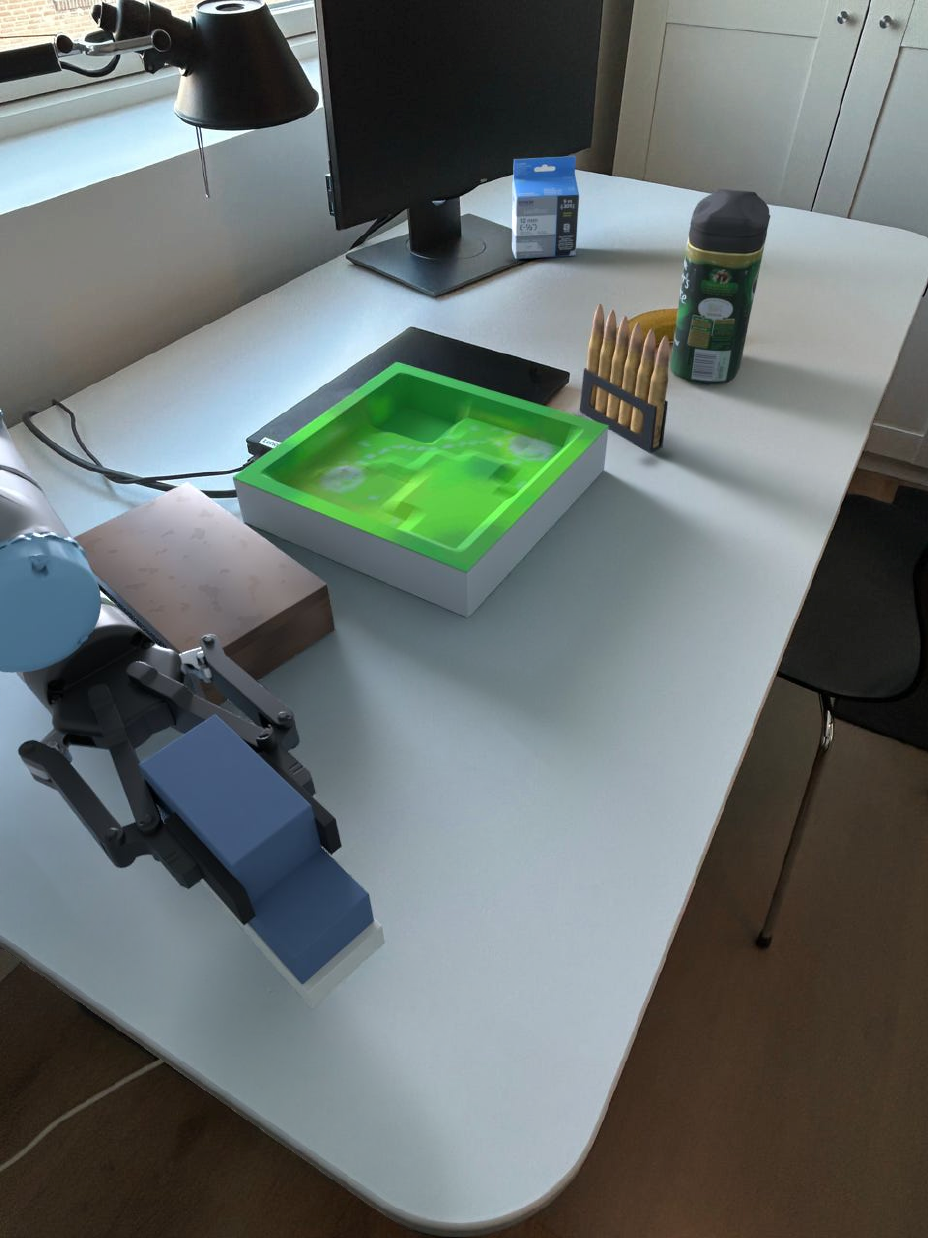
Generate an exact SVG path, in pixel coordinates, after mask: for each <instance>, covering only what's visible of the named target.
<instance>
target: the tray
mask: <svg viewBox="0 0 928 1238" xmlns="http://www.w3.org/2000/svg"><path fill="white" fill-rule="evenodd" d="M608 437H609V425H606V424H602V423H599V422H597V421H595V420H593V419H589V418H585V417H582V416H579V415H575V414H572V413H569V412H567V411H562V410H559V409H555V408H552V407H549V406H545V405H542V404H539V403H537V402H536V403H535V402H532V401H529V400H525V399H522V398H519V397H516V396H512V395H509V394H505V393H502V392H499V391H495V390H492V389H488V388H486V387H482V386H480V385H475V384H472V383H468V382H466V381H462V380H459V379H456V378H452V377H449V376H446V375H443V374H439V373H436V372H433V371H429V370H426V369H422V368H419V367H415V366H411V365H408V364H406V363H403V362H398V361H395V362H394V363H392V364H391V365H390V366H389V367H386V368H385V369H384V370H383V371H381V372H380V373H378V374H377V375H376V376H374V377H373V378H371V379H370V380H368V381H367V382H365V383H364V384H363V385H361V386H360V387H359V388H357V389H355V390H353V392H351V393H350V394H348V395H347V396H345V398H343V399H341V400H340V401H339V402H337V403H336V404H334V405H333V406H331V407H330V408H329V409H327V410H325V411H324V412H323V413H321V414H320V415H318V416H317V417H316V418H315V419H313V420H311V421H310V422H308V424H306V425H305V426H303V427H302V428H300V429H299V430H297V431H296V432H295V433H293V434H292V435H290V436H288V437H287V438H286V439H285V440H282V442H281V443H279V444H277V445H276V446H275V447H273V448H272V449H270V450H269V451H267V452H265V454H263V455H262V456H261V457H259V458H257V459H256V460H255V461H253V462H252V463H251V464H249V465H247V466H246V467H245V468H244V469H242V470H240V471H239V472H238V473H236V474H235V475H234V476H232V481H233V485H234V489H235V493H236V498H237V501H238V506H239V509H240V513H241V517H242V522H243V523H244V524H246V525H249V526H252V527H253V528H254V527H255V528H257V529H259V530H262V531H264V532H266V533H268V534H270V535H273V536H275V537H277V538H280V539H282V540H285V541H288V542H289V543H292V544H294V545H297V546H299V547H301V548H303V549H306V550H307V551H308V550H309V551H311V552H312V553H315V554H318V555H320V556H322V557H325V558H327V559H329V560H331V561H334V562H336V563H338V564H341V565H343V566H345V567H347V568H350V569H353V570H355V571H357V572H359V573H362V574H364V575H366V576H369V577H371V578H373V579H376V580H378V581H380V582H382V583H385V584H387V585H390V586H392V587H395V588H396V589H399V590H400V591H401V590H402V591H404V592H406V593H408V594H410V595H413V596H414V597H415V596H416V597H418V598H420V599H422V600H424V601H427V602H429V603H431V604H434V605H436V606H439V607H441V608H443V609H445V610H448V611H451V612H453V613H455V614H457V615H460V616H462V617H465V618H466V619H469V618H470V617H471V615H473V614H474V612H475V611H476V610H477V609H478V608H479V607H480V606H481V605H482V603H484V601H485V600H486V599H487V598H488V597H489V596H490V595H491V594H492V592H494V590H496V588H497V587H498V586H499V585H500V584H501V583H503V581H504V579H505V578H506V577H507V576H509V574H510V573H511V572H512V571H513V570H514V569H515V568H516V566H518V564H519V563H520V562H521V561H522V560H523V559H524V558H525V557H526V556H527V555H528V554H529V553H530V551H532V549H533V548H534V547H535V545H537V543H539V541H540V540H541V539H542V538H543V537H544V536H545V535H546V534H547V533H548V532H549V530H550V529H551V528H552V527H553V526H554V525H555V524H556V523H557V522H558V521H559V520H560V519H561V518H562V516H563V515H564V514H565V513H566V512H567V511H568V510H569V508H571V506H573V504H574V503H576V501H577V500H578V499H579V498H580V497H581V495H582V494H583V493H584V492H585V491H586V490H587V489H588V488H589V487H590V486H591V484H593V483H594V482H595V481H596V479H598V477H599V476H600V475H601V474H602V473H603V472H604V470H605V464H606V456H607V445H608Z"/></svg>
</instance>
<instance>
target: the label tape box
mask: <svg viewBox="0 0 928 1238" xmlns="http://www.w3.org/2000/svg"><path fill="white" fill-rule="evenodd" d="M576 162H577V156H575V155H571V156H569V155H568V156H552V157H551V156H550V157H533V158H514V159H513V178H512V185H511V186H512V188H511V189H512V191H511V192H512V193H511V194H512V195H511V197H512V201H511V202H512V203H511V204H512V205H511V206H512V207H511V212H512V213H511V215H512V216H511V217H512V219H511V221H512V222H511V249H512V251H511V252H512V254H513V256H514V258H515V260H523V259H537V258H555V257H570V256H571V257H572V256H576V253H577V238H578V223H579V222H578V221H579V209H580V207H579V205H580V194H579V188H578V187H579V186H578V181H577V177H576V164H577V163H576ZM544 165H546V166H547V167H548V168H549V167H554V170H545V171H543V170H541V171H536V170H535V169H536V168H542V167H543V166H544Z"/></svg>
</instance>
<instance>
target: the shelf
mask: <svg viewBox="0 0 928 1238" xmlns="http://www.w3.org/2000/svg"><path fill="white" fill-rule="evenodd" d="M73 539H74V540H75V541H77V542H78V544H79V545H80V546H81V547H82V548H83V549H84V551H85V553H86V555H87V558H88V564H89V566H90V568H91V570H92V573H93V575H94V577H95V579H96V581H97V583H98V586H99V589H100V591H101V592H103V590H105V591H106V592H107V593H108V594H109V595H110V596H111V597H112V598H113V599H114V600H115V601H116V602H117V603H119V604H120V605H121V606H122V607H123V608H124V609H125V610H126V611H127V612H128V613H129V614H130V615H132V616H133V618H135V620H137V622H139V623H140V624H141V625H142V626H143V627H144V628H146V630H148V631H149V632H150V633H151V634H152V635H153V636H154V637H155V638H156V639H157V640H158V641H160V642H161V644H162V645H164V646H165V648H167V649H171V650H174V651H175V652H177V653H178V654H182V653H185V652H188V651H191V650H194V649H197V648H200V647H201V646H200V639H201V638H202V637H203V636H205V635H208V634H214V635H217V637H218V638H219V641H220V643H221V646H222V648H223V651H224V653H225V655H226V656H228V657H229V658H230V659H231V660H232V661H233V662H235V663H236V664H237V665H238V666H239V667H241V668H242V669H243V670H244V671H245V672H246V673H248V674H249V675H250V676H251V677H252V678H253V679H255V680H256V681H257V682H258V681H259V680H261V679H262V678H263V677H265V676H267V675H268V674H269V673H271V672H273V671H275V670H276V669H277V668H279V667H280V666H283V664H286V663H287V662H288V661H290V660H291V659H293V658H295V657H296V656H297V655H299V654H300V653H302V652H303V651H305V650H307V649H308V648H310V647H312V646H313V645H315V644H317V642H319V641H321V640H322V639H324V638H325V637H326V636H328V635H330V634H331V633H332V632H334V631H336V625H335V619H334V614H333V608H332V603H331V596H330V592H329V585H328V583H327V582H325V581H324V580H323V579H322V578H320V577H319V576H317V575H316V574H314V573H313V572H312V571H310V570H309V569H308V568H307V567H305V566H303V565H302V564H301V563H299V562H298V561H297V560H295V559H294V558H293V557H291V556H290V555H288V554H287V553H286V552H284V551H283V550H282V549H280V548H279V547H277V546H276V545H275V544H274V543H272V542H271V541H270V540H268V539H266V538H265V537H264V536H263V535H261V534H260V533H258V532H257V531H256V530H254V529H253V528H251V527H250V525H249V526H248V524H247V523H245V522H243V520H241V519H239V518H238V517H236V516H235V515H234V514H232V513H231V512H230V511H228V510H227V509H225V508H224V507H223V506H221V505H220V504H219V503H217V502H216V501H214V499H211V498H210V497H209V496H208V495H206V494H205V493H204V492H202V491H201V490H200V489H198V488H197V487H195V486H194V485H192V484H191V483H190V482H188V481H186V482H184V483H182V484H180V485H179V486H176V487H174V488H172V489H170V490H168V491H166V492H164V493H162V494H160V495H158V496H155V497H154V498H152V499H150V500H148V501H146V502H144V503H141V504H140V505H138V506H135V507H133V508H132V509H129V510H128V511H125V512H123V513H121V514H119V515H117V516H115V517H113V518H111V519H108V520H107V521H105V522H103V523H101V524H98V525H96V526H94V527H93V528H90V529H89V530H86V531H84V532H82V533H80V534H78V535H76V536H74V537H73ZM188 675H189V677H190V680H191V682H192V685H193V689H194V691H195V695H197V696H199V697H201V698H203V699H205V700H207V701H209V702H211V703H213V704H215V705H217V706H219V707H220V705H222V704H224V703H225V702H227V701H229V700H228V699H227V698H226V697H225V696H223V695H222V694H221V693H220V692H219V691H218V689H217V688H216V687H215V685H214V683H213V681H212V682H210V683H206V682H204V679H200V678H199V677H198V676H197V675H196V674H194V673H188Z"/></svg>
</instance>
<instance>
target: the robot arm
mask: <svg viewBox="0 0 928 1238" xmlns="http://www.w3.org/2000/svg"><path fill="white" fill-rule="evenodd" d="M3 414H4V413H3V412H2V410H1V409H0V673H11V674H13V673H16V675H17V676H18V677H19V678H20V680H21V681H22V682H23V683H24V684H26V686H27V687H28V689H29V690H30V691H31V693H32V694H33V695H34V696H35V698H37V700H38V701H39V702H40V703H41V705H43V706H44V708H45V709H46V710H47V711H48V712H49V714H50V715H51V716H52V719H51V723H52V727H53V728H52V730H51V731H50V732H49V733H48V734H47V735H45V736H44V737H43V738H42V739H41V740H40V741H39V740H35V739H30V740H26V741H24V742H23V743H21V744H20V745H19V747H18V750H17V753H18V756H19V757H20V759H21V760H22V762H23V763H24V765H25V767H26V768H27V770H28V772H29V773H30V775H31V777H32V778H33V780H35V782H37V783H40V784H42V785H44V786H46V787H48V788H50V789H52V790H54V791H57V793H58V794H59V795H60V797H61V798H62V799H63V800H64V802H65V803H66V804H67V806H68V807H69V808H70V809H71V811H72V812H73V813H74V815H75V816H76V818H77V819H78V820H79V822H81V824H82V825H83V826H84V828H85V829H86V830H87V832H88V833H89V834H90V835H91V837H92V839H93V840H94V841H95V843H97V845H98V846H99V847H100V848H101V850H102V851H103V852H104V854H105V855H106V856H107V858H108V859H109V860H110V862H111V863H112V864H113V865H114V866H115V867H116V868H118V869H125V868H128V867H130V866H131V865H132V864H133V863H134V862H135V861H136V858H139V857H142V856H145V855H150V856H152V858H153V860H154V861H156V862H158V863H161V865H162V866H163V867H164V868H165V870H166V871H167V872H168V873H169V874H170V875H171V876H172V878H173V879H174V880H175V881H176V882H177V884H178V885H179V886H180V887H183V888H185V889H188V890H190V889H192V888H193V887H194V886H195V885H197V884H198V883H200V882H201V880H202V879H204V881H205V882H206V883H207V884H208V885H209V886H210V887H211V889H212V890H213V891H214V892H215V893H216V894H217V895H218V897H219V898H220V899H221V900H222V901H223V902H224V904H225V905H226V906H227V907H228V908H229V909H230V910H231V912H232V913H233V914H234V915H235V916H236V917H237V918H238V920H239V921H240V922H241V923H242V924H243V925H245V924H247V923H248V922H249V921H250V920H252V919H253V918H254V917H255V916H256V915H255V912H254V909H253V907H252V904H251V902H250V899H249V896H248V894H247V891H246V889H245V888H244V887H243V886H242V885H241V883H240V882H239V881H238V880H237V879H236V878H234V876H233V875H232V874H231V873H230V872H229V871H228V870H227V869H226V868H225V866H224V865H223V864H222V863H221V862H220V861H219V860H218V859H217V858H216V857H215V855H214V854H213V853H212V852H211V851H210V850H209V849H208V848H207V847H206V845H205V844H204V843H203V842H202V841H201V840H200V839H199V838H198V837H197V835H196V834H195V833H194V832H193V831H192V830H191V829H190V828H189V827H188V826H187V824H186V823H185V822H184V821H183V820H182V819H181V818H180V817H179V816H178V814H177V813H176V812H174V813H173V814H172V815H170V816H169V817H167V818H166V819H164V820H163V817H162V815H161V813H160V811H159V809H158V807H157V804H156V802H155V800H154V798H153V796H152V793H151V791H150V789H149V787H148V785H147V783H146V780H145V778H144V776H143V774H142V772H141V770H140V767H139V764H140V763H141V762H140V759H139V756H138V753H137V751H136V749H137V748H139V747H140V746H142V745H144V744H145V743H146V742H147V741H148V740H149V739H150V738H151V737H152V736H154V735H155V734H158V733H160V732H163V731H164V730H167V729H168V728H172V729H174V730H175V731H177V732H179V733H181V734H182V735H184V734H186V733H187V732H189V731H190V730H192V729H193V728H195V727H196V726H198V725H199V724H201V723H202V722H204V721H205V720H207V719H208V718H210V717H212V716H213V715H215V714H216V715H217V716H218V717H219V718H220V719H221V720H222V721H223V722H224V723H225V724H226V725H228V726H229V727H230V728H231V729H232V730H233V731H234V732H235V733H236V734H237V735H238V736H239V737H240V738H241V739H242V740H243V741H244V742H245V743H246V744H247V745H248V746H250V747H251V748H252V749H253V750H254V751H255V752H256V753H257V754H258V755H259V756H260V757H261V758H262V759H263V760H264V761H265V762H266V763H267V764H268V765H269V766H270V767H272V768H273V769H274V770H275V771H276V772H277V773H278V774H279V775H280V776H281V777H282V778H283V779H284V780H285V781H286V782H287V783H288V784H289V785H290V786H291V787H292V788H293V789H295V790H296V791H297V792H298V793H299V794H300V795H301V796H302V797H303V798H304V799H305V800H306V801H307V802H308V803H309V804H310V805H311V806H312V810H313V814H314V818H315V822H316V826H317V830H318V834H319V838H320V842H321V846H322V848H323V849H324V850H325V851H326V852H327V853H328V854H329V855H330V856H332V855H334V853H336V852H337V851H338V850H339V849H340V848H342V841H341V836H340V832H339V828H338V822H337V818H336V817H335V816H334V815H333V814H331V812H329V811H328V810H327V809H326V808H325V807H324V806H323V805H322V804H321V803H320V802H318V800H317V799H316V798H315V797H314V796H315V795H316V794H317V792H316V789H315V783H314V780H313V777H312V774H311V771H310V770H309V769H307V767H306V766H304V765H303V764H302V763H301V762H300V760H298V759H296V757H294V755H292V754H291V753H290V752H289V751H290V750H294V749H296V748H297V747H298V746H299V745H300V742H301V740H300V737H299V736H300V735H299V731H298V727H297V723H296V719H295V715H294V712H293V711H292V710H291V709H290V708H289V707H288V706H287V705H285V704H284V703H283V702H282V701H280V699H278V698H277V696H274V694H272V693H271V692H270V691H269V690H267V688H265V687H264V686H263V685H262V684H261V683H259V682H258V680H257V681H256V680H255V679H253V678H252V677H251V676H250V675H249V674H248V673H246V672H245V671H244V670H243V669H242V668H241V667H239V666H238V665H237V664H236V663H235V662H233V661H232V660H231V659H230V658H229V657H228V656H226V655H225V653H224V651H223V648H222V646H221V643H220V641H219V638H218V637H217V635H214V634H208V635H205V636H203V637H202V638H201V639H200V646H201V647H200V648H197V649H194V650H191V651H188V652H185V653H182V654H178V653H177V652H175V651H174V650H171V649H168V648H167V647H163V646H160V645H159V644H158V643H156V642H155V641H154V640H153V639H152V638H151V637H150V636H149V635H148V634H147V633H146V632H145V631H144V630H143V629H142V628H141V627H140V626H139V625H137V624H136V622H134V621H133V620H132V619H131V617H129V615H127V613H125V612H124V611H122V610H121V609H120V608H119V607H118V605H117V604H116V603H115V602H114V601H112V600H111V599H110V598H109V597H108V596H107V595H106V594H104V593H103V591H100V589H99V586H98V583H97V581H96V579H95V577H94V575H93V573H92V570H91V568H90V566H89V564H88V558H87V555H86V553H85V551H84V549H83V548H82V547H81V546H80V545H79V544H78V542H77V541H75V540H74V539H73V538H74V537H73V536H72V534H71V532H70V531H69V530H68V529H67V527H66V525H65V523H64V522H63V520H62V519H61V518H60V516H59V515H58V513H57V512H56V510H55V509H54V507H53V505H52V503H51V501H49V499H48V497H47V496H46V494H45V492H44V490H43V489H42V487H41V485H40V484H39V482H38V481H37V479H36V477H35V475H34V474H33V473H32V471H31V469H30V468H29V466H28V465H27V463H26V461H25V460H24V458H23V456H22V455H21V453H20V452H19V450H18V449H17V446H16V445H15V443H14V441H13V439H12V436H11V434H10V433H9V430H8V428H7V425H6V423H5V421H4V419H3V416H4V415H3ZM189 673H194V674H196V675H197V676H198V677H199V678H200V679H204V682H206V683H210V682H212V681H213V683H214V685H215V687H216V688H217V689H218V691H219V692H220V693H221V694H222V695H223V696H225V697H226V698H227V699H228V700H227V701H229V702H230V703H231V704H232V705H233V706H235V708H236V709H238V710H239V711H240V712H241V713H242V714H243V715H244V716H246V717H247V718H248V719H249V720H250V721H249V720H247V719H245V718H243V717H241V716H239V715H237V714H235V713H233V712H230V711H229V710H226V709H225V708H223V707H221V706H220V705H219V706H217V705H215V704H213V703H211V702H209V701H207V700H205V699H203V698H201V697H199V696H197V694H196V693H193V692H192V691H191V689H190V688H189V687H188V686H187V685H185V681H186V674H189ZM70 746H75V747H83V748H91V749H98V750H99V749H100V750H105V751H106V750H108V752H109V755H110V756H111V759H112V762H113V764H114V767H115V770H116V772H117V775H118V778H119V780H120V781H119V782H120V784H121V786H122V789H123V791H124V794H125V797H126V800H127V802H128V805H129V808H130V810H131V813H132V817H133V819H134V822H131V823H128V824H126V825H123V826H122V825H121V824H120V823H119V821H118V820H117V819H116V817H114V815H113V814H112V813H111V812H110V810H109V809H108V808H107V807H106V805H105V804H104V803H103V802H102V800H101V799H100V798H99V797H98V796H97V794H96V793H95V792H94V790H93V789H92V787H90V785H89V784H88V783H87V782H86V780H85V779H84V778H83V777H82V776H81V774H80V773H79V772H78V771H77V769H76V768H75V767H74V766H73V764H72V762H73V755H72V754H71V751H70V750H69V747H70Z"/></svg>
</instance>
